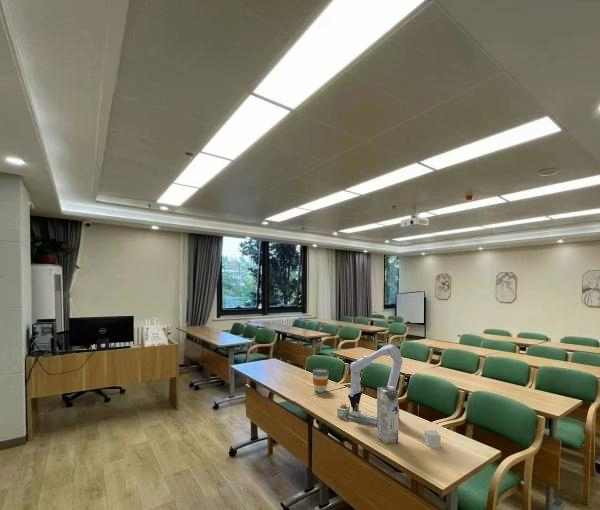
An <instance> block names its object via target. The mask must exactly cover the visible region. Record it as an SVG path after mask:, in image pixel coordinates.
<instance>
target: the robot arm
mask: <svg viewBox="0 0 600 510" xmlns="http://www.w3.org/2000/svg"><path fill="white" fill-rule="evenodd" d="M382 356H386V357H387V356H388V357H389V356H390V358H391V359H392V364H391V369H390V373H389V377H388V380H387V381H388V382H387V385H386V387H388V386H393V387H394V390H395V391H397V390H396V388H397V386H398V385H397V384H398V381H399V377H400V372H401V369H402V365H403V356H402V353H401V351H400V349H399V348H398V347H397V346H395V345H394V344H392V343H388V344H386V345H383V346H382V347H381V348H379V349H378V350H376V351H375V352H372V354H370V355H369V356H368V355H362V357H361V358H358V359H356V360H355V361H352V362H350V365H349V369H350V388H349V389H348V391H349V394H348V395H347V397H348V399H349V402H350V408H355V406H356V403H359V404H360V403H361V402H360V401H361V397H362V394H363V391H362V388H361V371H362V370H363V369H365V368H367V367H368V366H370V365H371V364H372V362H373V361H375V360H377V359H379V358H381V357H382ZM399 420H400V406H399V405H398V421H399Z"/></svg>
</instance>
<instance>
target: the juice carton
mask: <svg viewBox="0 0 600 510" xmlns="http://www.w3.org/2000/svg"><path fill="white" fill-rule="evenodd" d="M376 391H377V395H376V396H377V397H376V403H377V405H376V408H377V409H376V410H377V411H376V413H377V414H376V417H377V426H376V429H377V437H378V438H379V439H380V440H381V441H382V442H383V443H384V444H385V445H391V444H398V443H399V420H398V406H399V391H397V390H396V391H395V390H394V387H393V386H388V387H387V386H381V387H380V386H378V387H377V388H376Z"/></svg>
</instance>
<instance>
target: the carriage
mask: <svg viewBox="0 0 600 510" xmlns="http://www.w3.org/2000/svg"><path fill="white" fill-rule="evenodd" d="M359 405H360V403H356V406H355V408H352V407H351V408H352V409H350V412H351V415H353V416H357V417H359V414H362V413H361V412H362V411H361V410H360V409H359V408H360V407H359Z"/></svg>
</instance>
